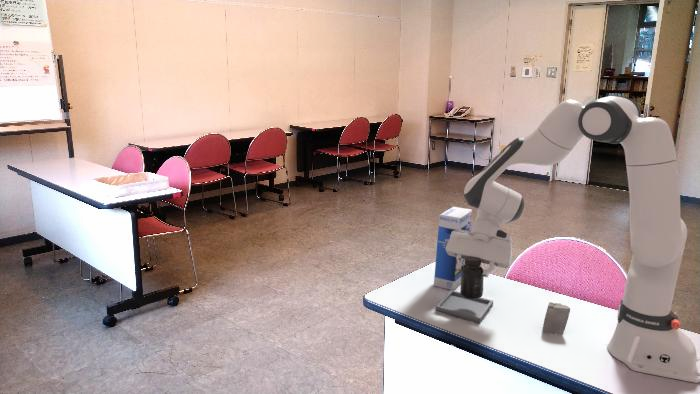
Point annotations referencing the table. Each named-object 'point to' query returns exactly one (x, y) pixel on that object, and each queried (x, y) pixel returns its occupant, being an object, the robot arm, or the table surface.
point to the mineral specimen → (556, 319)
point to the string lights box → (446, 264)
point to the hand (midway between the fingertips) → (471, 273)
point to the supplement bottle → (472, 278)
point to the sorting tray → (464, 307)
